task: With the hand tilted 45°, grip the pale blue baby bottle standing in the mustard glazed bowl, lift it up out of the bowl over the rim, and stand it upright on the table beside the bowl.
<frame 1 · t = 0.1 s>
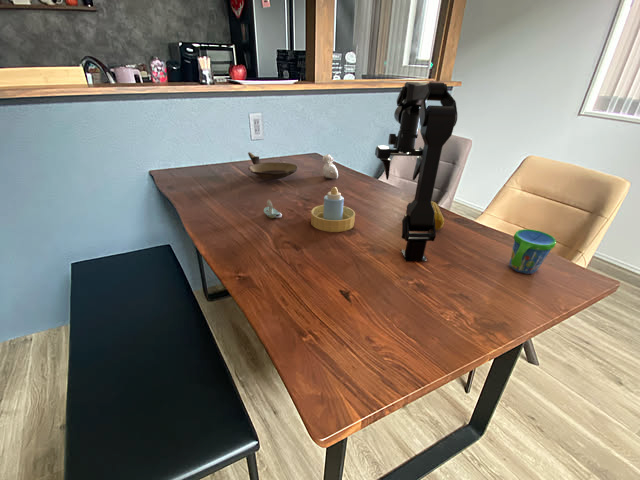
hand: (400, 179, 125), 15 cm above the table, tool pointing down, fingers open, 9 cm apart
bowl: (332, 224, 129), on the table
food: (430, 222, 134), on the table
baby bottle: (332, 223, 128), point 1 cm above the table, touching bowl
pacifier: (273, 216, 133), on the table
snack cup: (521, 269, 108), on the table
oil lamp: (272, 176, 172), on the table
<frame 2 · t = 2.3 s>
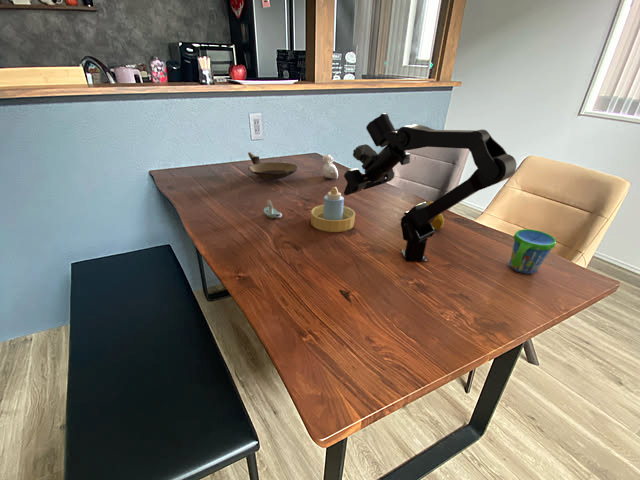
hand: (354, 191, 117), 13 cm above the table, tool tilted 45°, fingers open, 9 cm apart
nothing on the table moved.
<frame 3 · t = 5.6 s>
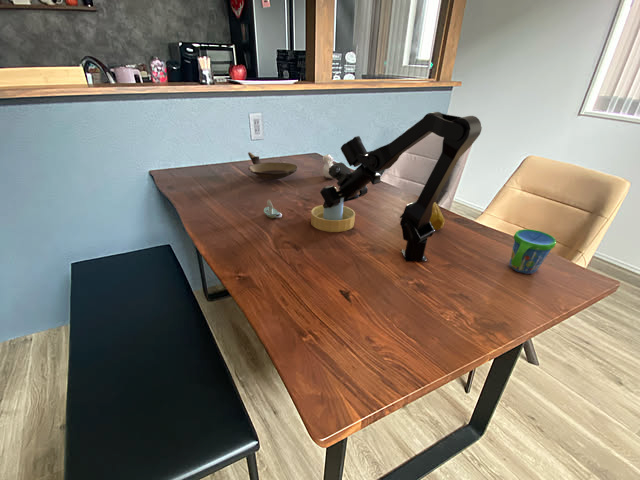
hand: (330, 204, 125), 7 cm above the table, tool tilted 45°, fingers closed on baby bottle, 6 cm apart
baby bottle: (332, 223, 128), point 1 cm above the table, touching bowl, gripper
everything else where it was.
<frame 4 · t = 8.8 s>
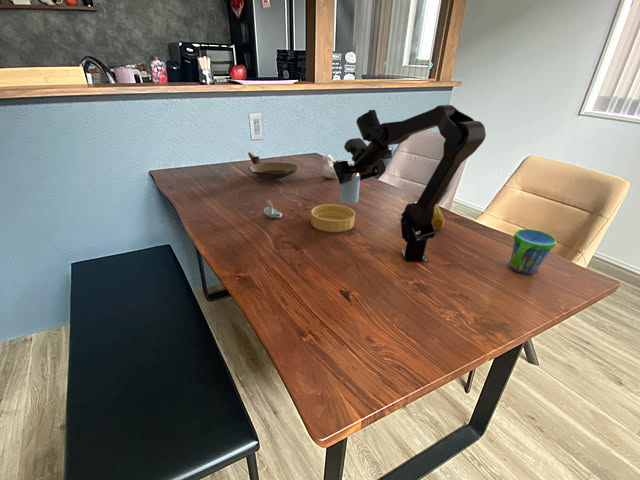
hand: (347, 181, 126), 13 cm above the table, tool tilted 45°, fingers closed on baby bottle, 6 cm apart
baby bottle: (348, 200, 129), point 7 cm above the table, touching gripper
everything else where it was.
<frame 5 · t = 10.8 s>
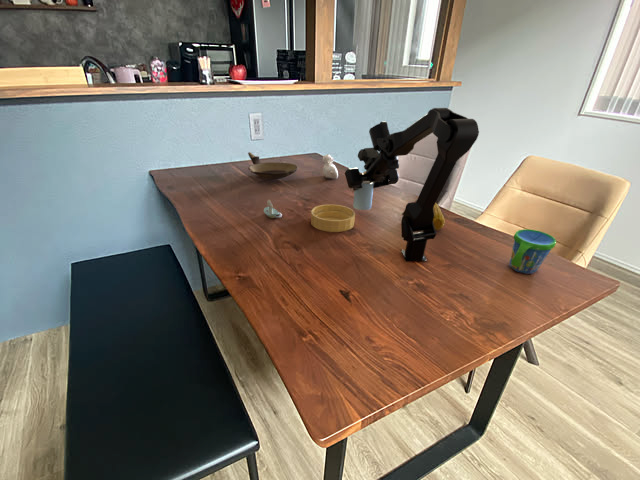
hand: (362, 188, 131), 10 cm above the table, tool tilted 45°, fingers closed on baby bottle, 6 cm apart
baby bottle: (362, 206, 133), point 4 cm above the table, touching gripper
everything else where it was.
when the fingers open (6 cm above the table, at t = 12.4 s): baby bottle stays where it is, on the table.
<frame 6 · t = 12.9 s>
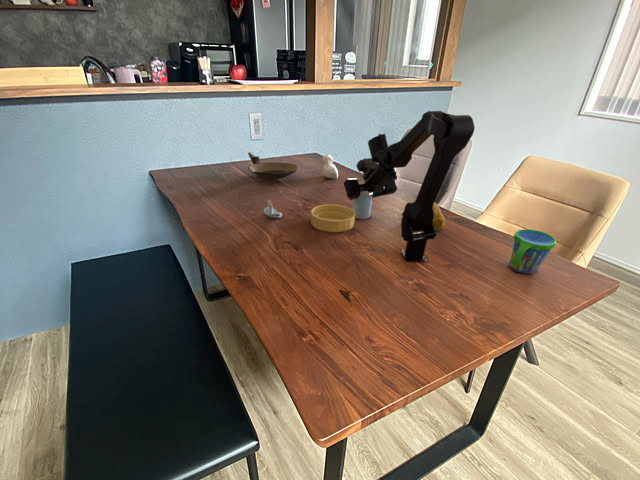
hand: (360, 197, 133), 7 cm above the table, tool tilted 45°, fingers open, 9 cm apart
baby bottle: (360, 216, 136), on the table
everything else where it was.
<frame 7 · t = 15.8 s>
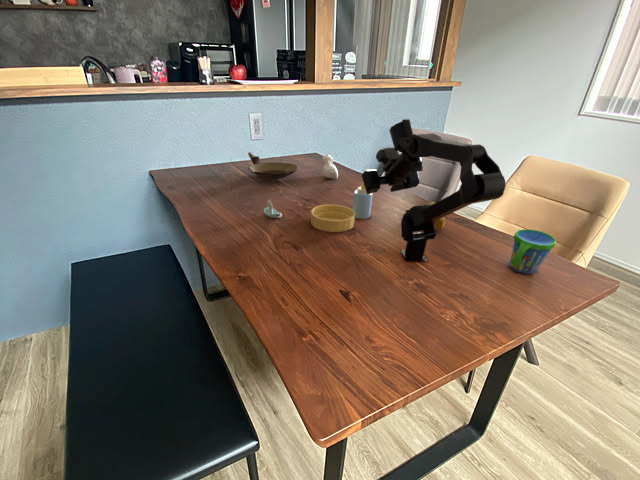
hand: (379, 191, 121), 12 cm above the table, tool tilted 45°, fingers open, 9 cm apart
nothing on the table moved.
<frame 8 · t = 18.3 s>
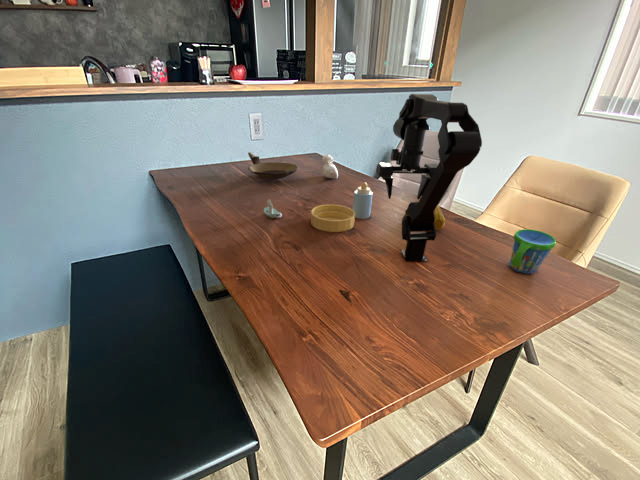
hand: (403, 198, 114), 13 cm above the table, tool pointing down, fingers open, 9 cm apart
nothing on the table moved.
at the end: baby bottle inside the target area (0.1 cm from its centre), on the table; baby bottle tilted 0°; the gripper is holding nothing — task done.
